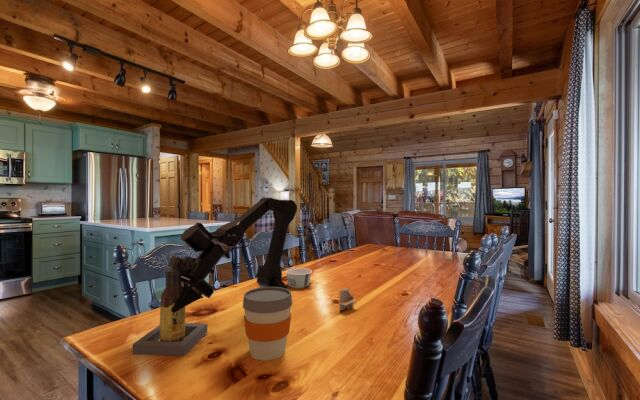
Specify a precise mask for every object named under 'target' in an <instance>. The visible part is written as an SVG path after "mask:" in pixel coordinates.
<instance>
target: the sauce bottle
mask: <svg viewBox="0 0 640 400" xmlns="http://www.w3.org/2000/svg"><path fill="white" fill-rule="evenodd" d="M164 274H165V288H164V289H163V291H162V292H161V295H160V306H159V307H160V308H159V309H160V311H159V312H160V313H159V317H160V318H159V325H160V339H159V341H168V342H181V341H182V340H183V339H185V323H186V306H185V307H184V308H182V309H180V310H178V311H177V312H175V313H173V312H172V311H171V309H172V308H173V306H174V304H175V303H176V301H177V300H178V298H179V297H180V296H181V294H182V293H183V289H182V286H181V274H182V270H176V269H172V268H168V269H166V270H165V273H164Z"/></svg>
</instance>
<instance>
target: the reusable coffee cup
mask: <svg viewBox="0 0 640 400" xmlns="http://www.w3.org/2000/svg"><path fill="white" fill-rule="evenodd" d="M292 297H293V296H292V291H291V290H290V289H288V288H287V289H285V288H281V287H261V288H260V287H257V288H252V289H250V290H247V291H246V292H245V293H244V294H243V300H242V301H243V302H242V307H243V309H244V316H243V322H244V330H245V336H246V338H248V339H247V340H248V345H249V346H248V347H249V354H250V357H251V358H253V359H255V360H256V361H257V360H258V361H267V362H268V361H273V360H276V359H280V358H281V357H282V356H284V354H285V353H286V348H287V339H288V335H289V334H290V328H291V323H292V322H291V320H292V312H291V310H292V309H291V308H292V306H293V299H292Z"/></svg>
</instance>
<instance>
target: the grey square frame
mask: <svg viewBox="0 0 640 400" xmlns="http://www.w3.org/2000/svg"><path fill="white" fill-rule="evenodd" d="M206 334H208V323H189V322H187V323H186V322H185V335H186V336H185V335H184V336H185V337H184V339H183V340H182V341H181V342H168V341H160V324H159V325H157V326H156V327H155V328H153V329H151V331H149V332H148V333H146V334H144V336H142V337H141V338H139V339H138V340H136V341H135V342H133V343H132V355H148V356H149V355H150V356H152V355H153V356H179V357H186V355H187V354H188V353H189V352H190V351H191V350H192V349H193V348H194V346H195V345H197V344H198V343H199V341H201V340H202V339H203V338H204V337H205V336H206Z"/></svg>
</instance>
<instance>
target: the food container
mask: <svg viewBox="0 0 640 400" xmlns="http://www.w3.org/2000/svg"><path fill="white" fill-rule="evenodd" d="M284 271H285V274H286V278H287V284H288V285H287V287H289V286H290V287H289V288H291V287H293V288H292V289H305V288H304V287H306V288H308V287H309V286H310V282H311V281H310V279H311V275H312V273H313V270H312V269H310V268H305V267H302V268H301V267H294V268H289V269H287V270H284ZM307 286H308V287H307Z"/></svg>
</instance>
